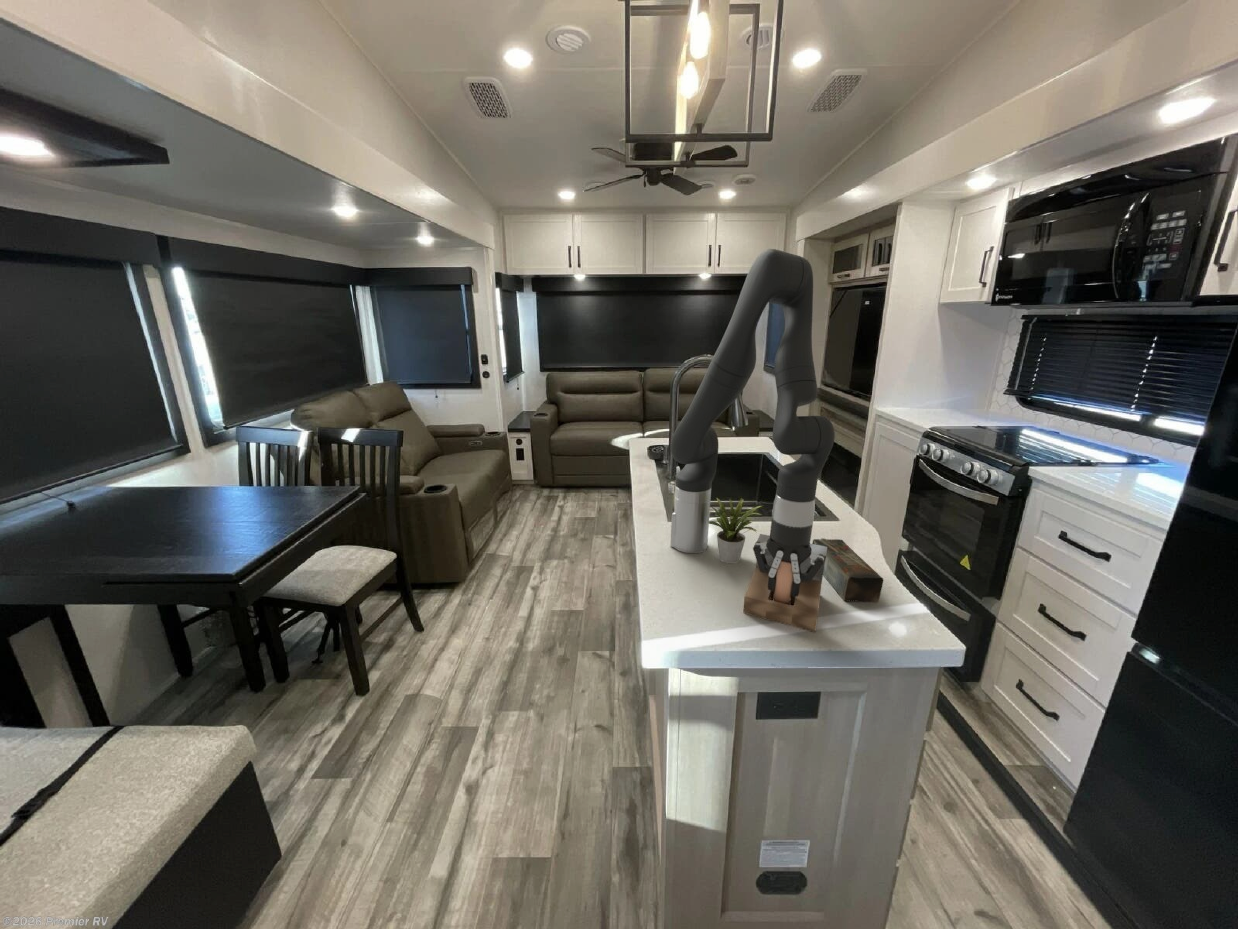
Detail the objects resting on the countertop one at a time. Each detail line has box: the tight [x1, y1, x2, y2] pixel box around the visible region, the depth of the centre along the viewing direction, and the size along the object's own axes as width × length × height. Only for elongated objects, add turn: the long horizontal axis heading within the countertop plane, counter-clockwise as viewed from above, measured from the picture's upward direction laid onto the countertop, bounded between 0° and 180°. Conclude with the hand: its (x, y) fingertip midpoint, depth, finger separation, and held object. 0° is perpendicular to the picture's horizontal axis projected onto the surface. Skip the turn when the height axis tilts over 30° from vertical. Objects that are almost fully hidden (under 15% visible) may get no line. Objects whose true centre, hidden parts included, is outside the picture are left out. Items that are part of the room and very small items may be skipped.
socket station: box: [742, 533, 827, 633], centre depth 96 cm, size 14×14×12 cm
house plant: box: [708, 497, 763, 564], centre depth 113 cm, size 14×14×16 cm
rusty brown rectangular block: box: [811, 537, 884, 603], centre depth 106 cm, size 8×19×7 cm, turn 0°
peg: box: [772, 561, 794, 605], centre depth 92 cm, size 3×3×10 cm
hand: (782, 593), depth 93 cm, fingers closed on peg, 3 cm apart
